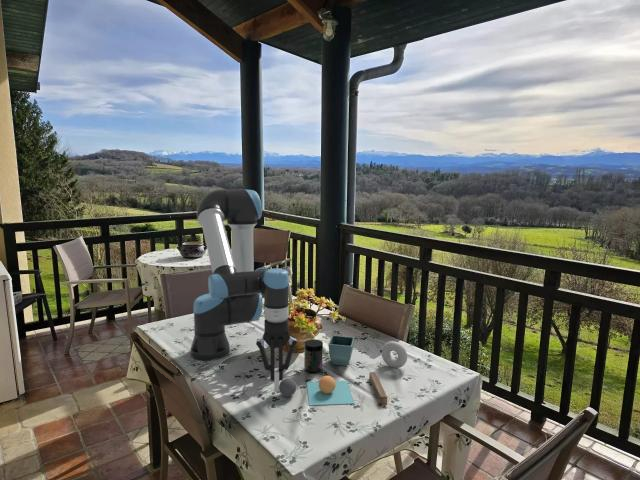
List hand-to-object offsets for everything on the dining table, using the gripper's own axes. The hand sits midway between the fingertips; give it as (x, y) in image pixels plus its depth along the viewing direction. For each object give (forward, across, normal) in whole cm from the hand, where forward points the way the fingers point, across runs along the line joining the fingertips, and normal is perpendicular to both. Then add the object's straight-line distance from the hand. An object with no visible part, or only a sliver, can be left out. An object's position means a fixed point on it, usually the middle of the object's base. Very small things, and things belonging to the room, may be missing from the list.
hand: (276, 389), depth 125 cm
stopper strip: (+2, +33, 0) cm, 33 cm away
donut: (+2, +43, +16) cm, 46 cm away
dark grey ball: (-1, +4, 0) cm, 4 cm away
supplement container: (+2, +13, +16) cm, 21 cm away
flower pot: (+2, +24, +21) cm, 32 cm away
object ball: (-1, +16, 0) cm, 16 cm away
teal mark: (+2, +17, 0) cm, 17 cm away
